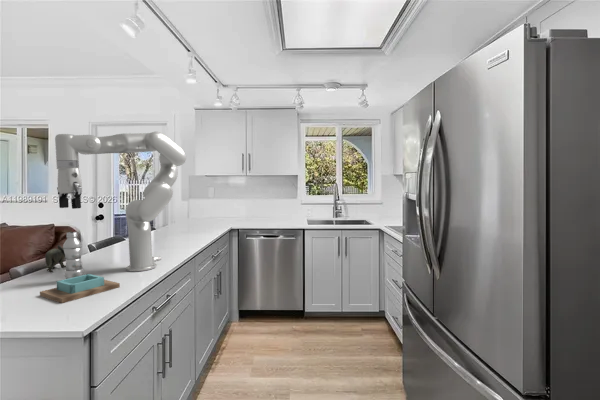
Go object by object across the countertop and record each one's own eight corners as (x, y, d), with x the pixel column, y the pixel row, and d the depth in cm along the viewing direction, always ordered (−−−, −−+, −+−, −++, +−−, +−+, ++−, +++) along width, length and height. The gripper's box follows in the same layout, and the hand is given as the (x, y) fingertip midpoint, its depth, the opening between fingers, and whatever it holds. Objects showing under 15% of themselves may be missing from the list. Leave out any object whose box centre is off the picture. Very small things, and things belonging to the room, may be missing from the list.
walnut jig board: (96, 281, 143) (96, 270, 143) (119, 287, 135) (119, 275, 135) (40, 295, 126) (39, 283, 126) (62, 303, 118) (61, 290, 118)
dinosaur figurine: (46, 276, 154) (44, 250, 153) (27, 276, 154) (25, 250, 153) (78, 264, 175) (77, 241, 175) (61, 264, 176) (60, 241, 175)
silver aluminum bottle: (75, 283, 141) (72, 233, 140) (61, 283, 142) (58, 233, 141) (88, 279, 147) (85, 231, 146) (74, 278, 149) (71, 231, 147)
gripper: (89, 164, 141) (91, 207, 142) (67, 166, 150) (69, 206, 151) (68, 164, 134) (71, 209, 135) (47, 166, 143) (49, 208, 144)
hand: (70, 208), depth 143 cm, fingers open, 9 cm apart
